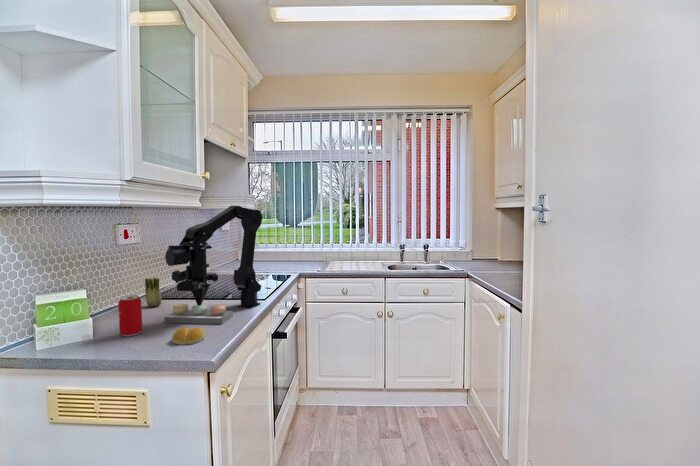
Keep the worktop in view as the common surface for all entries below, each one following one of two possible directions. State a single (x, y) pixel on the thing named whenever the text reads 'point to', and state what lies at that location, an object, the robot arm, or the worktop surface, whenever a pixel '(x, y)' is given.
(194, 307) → the sage button
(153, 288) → the fennel bulb
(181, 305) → the ochre button
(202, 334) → the bread roll
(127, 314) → the beverage can
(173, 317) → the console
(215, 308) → the terracotta button
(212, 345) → the worktop surface
